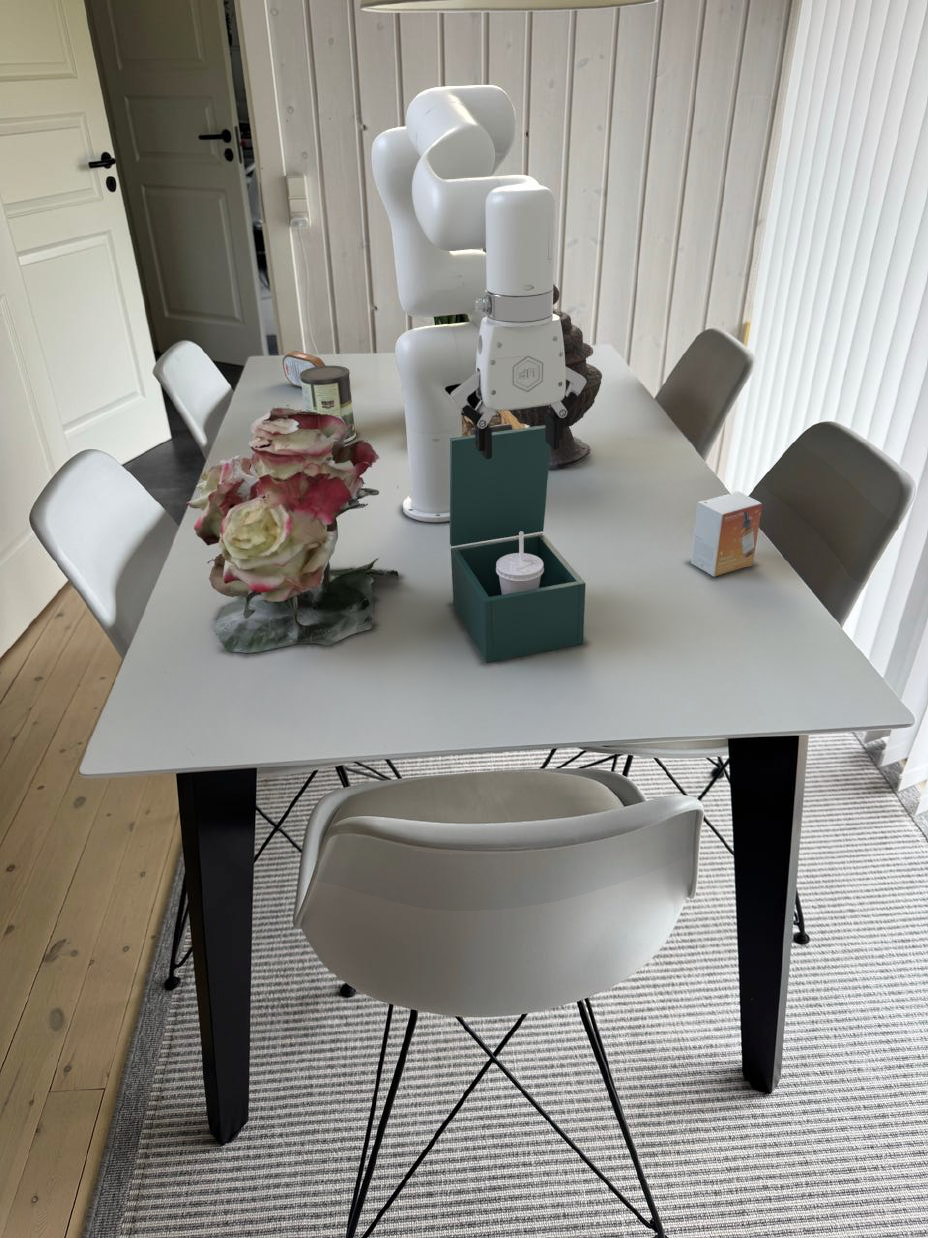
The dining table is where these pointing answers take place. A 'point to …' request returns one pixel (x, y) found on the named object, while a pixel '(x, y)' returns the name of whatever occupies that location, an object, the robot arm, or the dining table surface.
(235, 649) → the rose bouquet
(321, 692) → the dining table surface
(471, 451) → the bin lid
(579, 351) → the decorative urn
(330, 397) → the coffee can
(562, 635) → the bin
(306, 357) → the tin
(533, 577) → the smoothie
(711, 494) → the dining table surface
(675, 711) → the dining table surface
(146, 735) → the dining table surface
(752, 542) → the small box
